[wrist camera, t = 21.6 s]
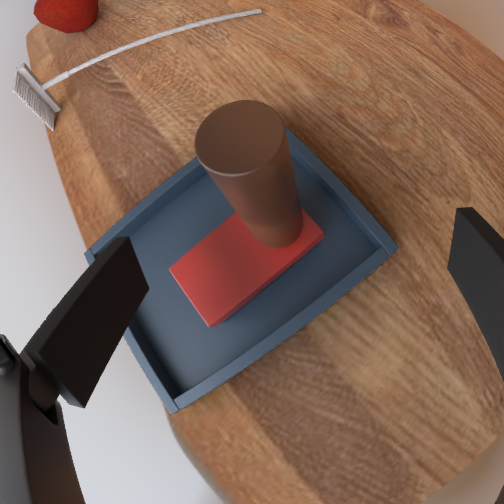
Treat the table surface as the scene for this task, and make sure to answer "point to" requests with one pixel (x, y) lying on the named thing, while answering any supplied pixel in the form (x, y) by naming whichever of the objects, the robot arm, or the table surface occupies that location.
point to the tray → (262, 306)
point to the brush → (45, 102)
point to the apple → (67, 14)
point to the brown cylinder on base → (246, 212)
